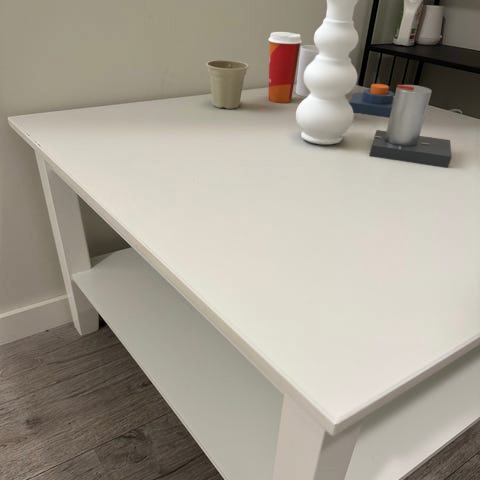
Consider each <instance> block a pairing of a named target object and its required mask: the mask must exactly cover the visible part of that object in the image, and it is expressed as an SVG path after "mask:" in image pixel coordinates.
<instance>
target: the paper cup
mask: <svg viewBox="0 0 480 480" xmlns="http://www.w3.org/2000/svg"><path fill="white" fill-rule="evenodd" d="M301 37H302V36H301V34H300V33H294V32H288V31H273V32H270V37H269V38H267V39H268V41H269V48H268V49H269V53H268V92H267V93H268V101H269V102H272V103H275V104H276V103H277V104H288V103H291V102H292V97H293V93H294V86H295V79H296V73H297V69H298V68H297V67H298V62H299V56H300V48H301V43H303V42H302V39H301Z"/></svg>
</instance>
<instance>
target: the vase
mask: <svg viewBox="0 0 480 480" xmlns="http://www.w3.org/2000/svg"><path fill="white" fill-rule="evenodd" d="M359 1H360V0H325V2H326V15H325V18H324V19H323V21H322V24H321V25H320V26H319V27H318V28H317V29H316V31H315V32H314V35H313V42H314V45H316V47H317V48H318V50H319V54H318V55H316V57H315V59H314V60H313V61H312V62H311V63H310V64H309V65H308V66H307V68H306V69H305V72H304V82H305V85H306V86H307V88H308V89H309V90H310V92H311V94H309V95H308V97H304V99H303V100H302V101H300V103H299V104H298V106H297V108H296V112H295V120H296V123H297V125H298V127H299V128H300V129H301V132H300V137H301V138H302V139H303V140H305V141H306V142H308V143H312V144H314V145H315V144H317V145H326V146H328V145H335V144H339V143H340V142H342V140H343V134H344V133H346V132H347V131H348V130H349V129H350V128H351V126H352V124H353V122H354V114H355V113H353V109H352V107H351V105H350V104H349V101H348V99H347V97H346V95H347V94H349V93H350V92H351V91H352V90H353V89H354V88H355V87H356V85H357V82H358V72H357V68H355V66H354V65H353V63H352V59H351V57H350V56H349V55H350V53H351V52H352V51H353V50H354V49H356V47H357V45H358V43H359V40H360V39H359V34H358V31H357V29H356V28H355V26H354V25H355V21H354V20H353V18H354V11H355V7H356V5H357V3H358V2H359Z"/></svg>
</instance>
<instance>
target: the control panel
mask: <svg viewBox="0 0 480 480" xmlns="http://www.w3.org/2000/svg"><path fill="white" fill-rule="evenodd" d="M386 132H387V130H381V129H377V130H376V131H375V133H374V135H373V140H372V143H371V146H370V152H369V157H375V158H381V159H388V160H395V161H402V162H409V163H415V164H423V165H429V166H434V167H442V168H449V166H450V164H451V160H452V158H453V157H452V145H451V139H446V138H439V137H432V136H425V135H424V136H423V135H420V136H419V140H418V143H417V144H416V145H412V146H402V145H396V144H392V143H390V142H388V141H386V140H385V136H386Z"/></svg>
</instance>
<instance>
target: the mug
mask: <svg viewBox="0 0 480 480" xmlns="http://www.w3.org/2000/svg"><path fill="white" fill-rule="evenodd" d="M318 54H319V50H318V48H317V47H316V45H315V44H314V45H313V44H309V45H308V44H306V45H300V48H299V56H298V65H297V67H298V68H297V76H296V84H295V94H296V95H298V96H300V97H302V98H303V97H304V98H307V97H308V95H309V94H311V92H310V90H309V89H308V88H307V86H306V85H305V82H304V72H305V69H306V68H307V66H308V65H309V64H310V63H311V62H312V61H313V60H314V59H315V57H316V55H318Z"/></svg>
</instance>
